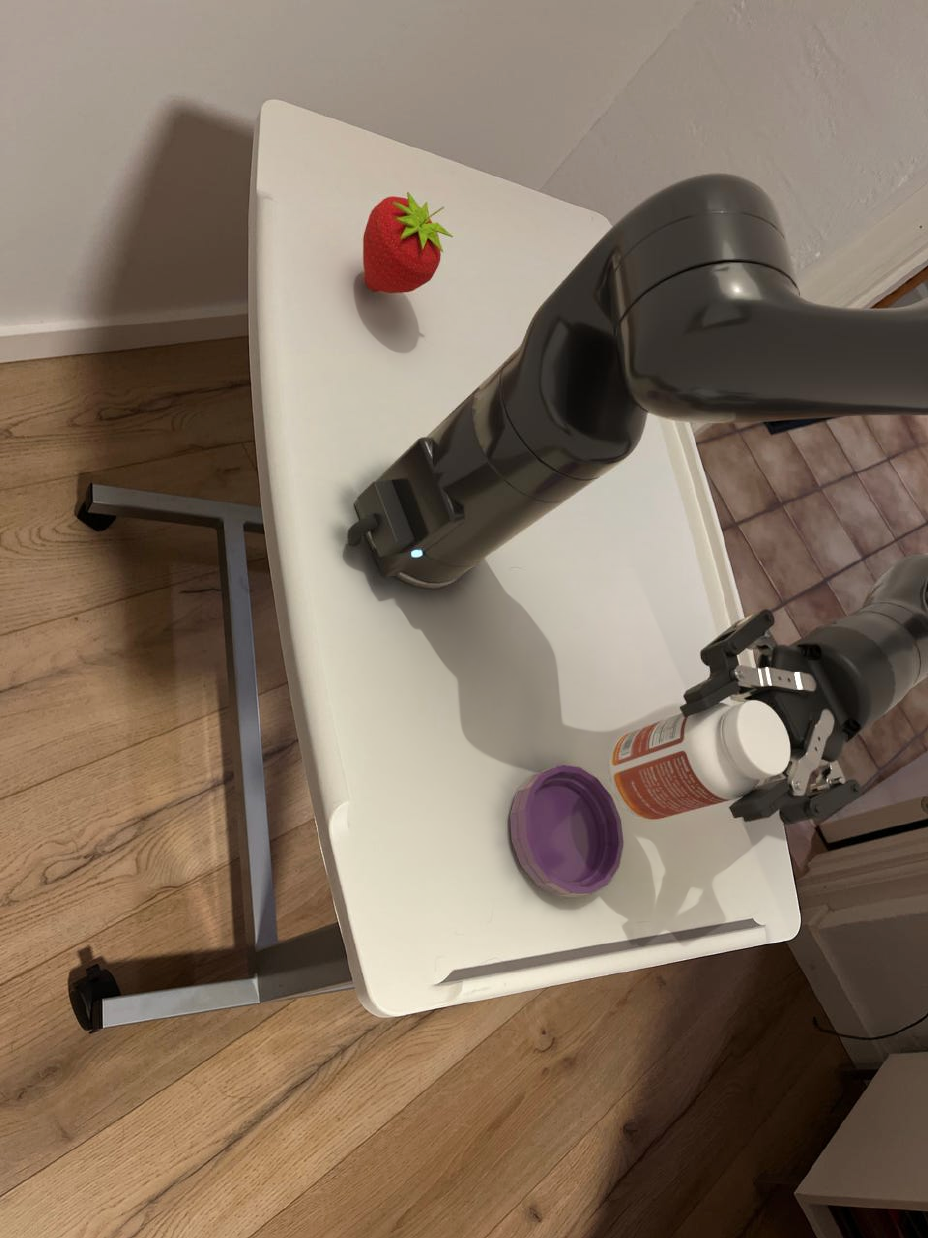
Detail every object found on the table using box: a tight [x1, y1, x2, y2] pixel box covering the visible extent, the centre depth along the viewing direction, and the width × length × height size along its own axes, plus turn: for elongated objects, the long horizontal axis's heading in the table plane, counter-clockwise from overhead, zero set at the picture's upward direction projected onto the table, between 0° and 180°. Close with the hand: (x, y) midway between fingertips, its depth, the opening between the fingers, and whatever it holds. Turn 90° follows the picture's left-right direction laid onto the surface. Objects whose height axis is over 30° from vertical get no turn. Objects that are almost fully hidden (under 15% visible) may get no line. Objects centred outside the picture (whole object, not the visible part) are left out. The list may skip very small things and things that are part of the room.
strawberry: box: [362, 191, 454, 294], centre depth 71 cm, size 6×8×10 cm
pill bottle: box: [607, 700, 790, 821], centre depth 59 cm, size 6×6×11 cm
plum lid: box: [509, 764, 625, 898], centre depth 65 cm, size 9×9×2 cm
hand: (717, 759), depth 54 cm, fingers closed on pill bottle, 6 cm apart
